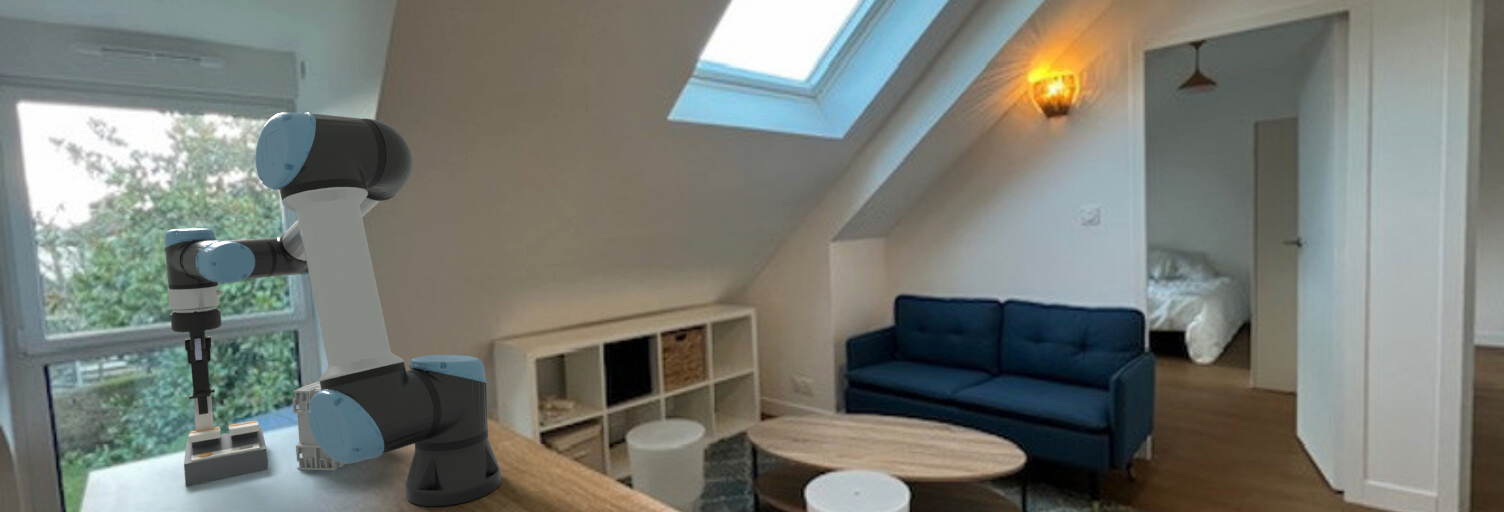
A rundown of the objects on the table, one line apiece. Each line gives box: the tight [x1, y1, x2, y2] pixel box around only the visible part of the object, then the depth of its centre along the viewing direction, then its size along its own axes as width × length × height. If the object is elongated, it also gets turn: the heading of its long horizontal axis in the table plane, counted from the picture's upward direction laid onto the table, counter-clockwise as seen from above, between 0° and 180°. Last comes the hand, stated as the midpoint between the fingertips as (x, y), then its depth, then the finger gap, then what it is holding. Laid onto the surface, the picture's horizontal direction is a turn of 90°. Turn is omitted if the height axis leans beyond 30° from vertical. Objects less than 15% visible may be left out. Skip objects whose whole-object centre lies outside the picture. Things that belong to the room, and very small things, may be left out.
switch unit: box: [183, 427, 269, 487], centre depth 133 cm, size 16×12×5 cm
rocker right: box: [228, 420, 260, 436], centre depth 136 cm, size 10×5×1 cm, turn 38°
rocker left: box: [187, 426, 221, 443], centre depth 133 cm, size 10×5×1 cm, turn 38°
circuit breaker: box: [292, 381, 345, 471], centre depth 137 cm, size 8×14×15 cm, turn 174°
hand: (204, 428), depth 136 cm, fingers closed
